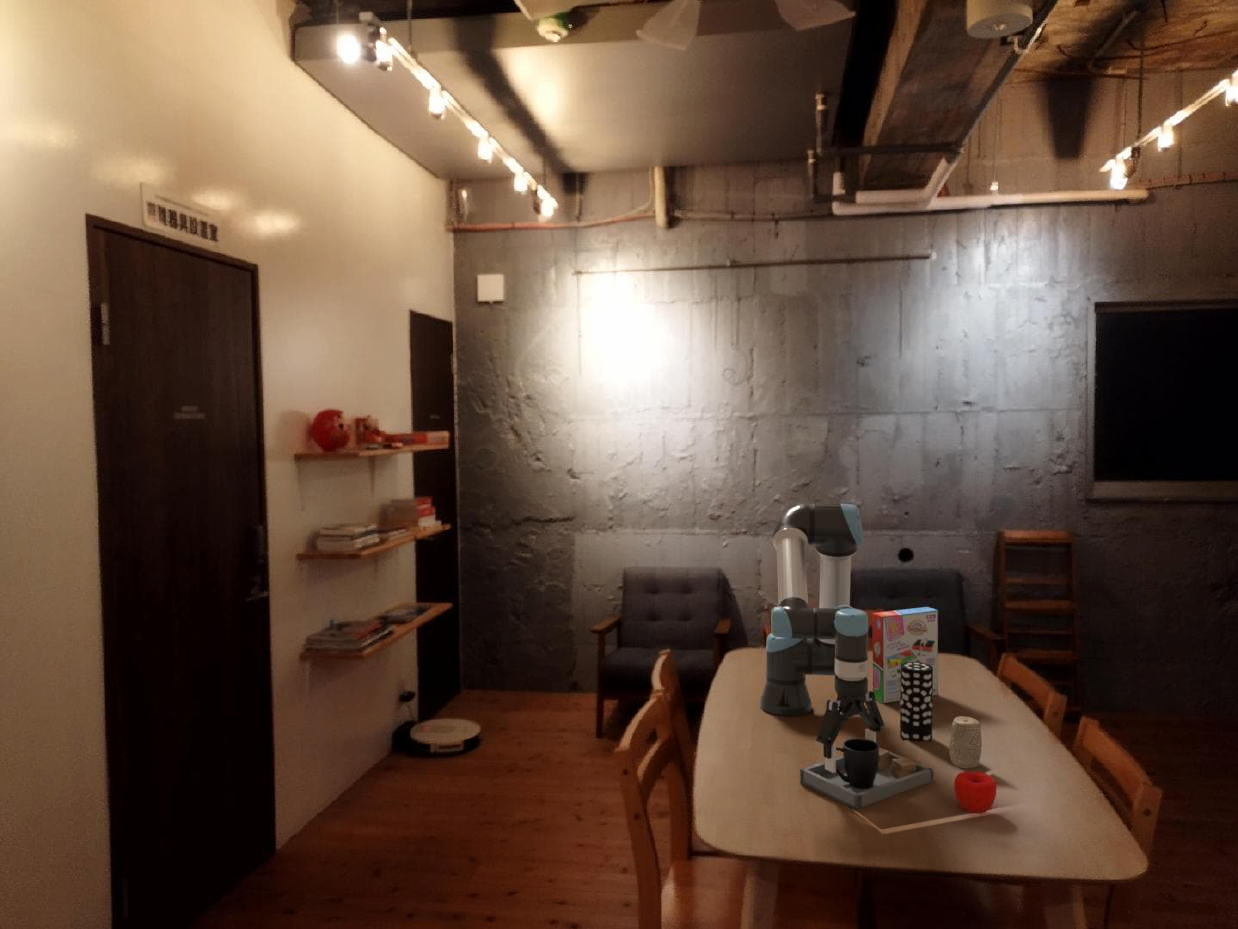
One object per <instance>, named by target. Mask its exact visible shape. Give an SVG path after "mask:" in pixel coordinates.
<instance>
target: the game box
mask: <svg viewBox="0 0 1238 929" xmlns="http://www.w3.org/2000/svg"><path fill="white" fill-rule="evenodd" d="M938 638H939V610H938V609H936V608H932V607H929V606H923V607H915V608H906V609H896V610H888V611H878V612H873V613H872V692H874V693H875V701H876V702H879V703H881V704H888V703H894V702H900V665H901V664H902V663H905V662H921V663H926V664H929V665H931V666H932V667H933V697H934V696H939V674H938V673H939V660H938V659H939V658H938V656H939V654H938V653H939V648H938V647H939V645H938V644H939V643H938V642H939V641H938V640H939V639H938Z"/></svg>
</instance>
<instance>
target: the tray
mask: <svg viewBox="0 0 1238 929" xmlns="http://www.w3.org/2000/svg"><path fill="white" fill-rule="evenodd" d="M898 758H904V756H903V755H902V756H901V755H900V754H897V753H894V752H891V751H889V767H887V768H885V769H884V770H882V771H879V770H877V773H876V777H875V780H874V783H873V786H872V787H871V788H868V789H859V788H855V787H853V786H851V785H850V784H849V783H847V782H844V781H843V780H842V779H841V778H840V776H839V775H838V773H837V772H835V773H832V772H830V771H828V770H826V769H825V760H824V761H821V762H818V763H815V764H812V765H808V766H805V767H803V768H799V770H800V772H799V773H800V775H799V778H800V779H799V782H800V784H801V785H803V786H805V787H807V788H809V789H811V790H813V791H815V792H817V793H819V794H821V795H823V796H825V797H827V798H829V799H830V800H833V801H835V802H837V803H839V804H841V805H843V806H845V807H847V808H849V809H851V810H853V811H855V812H857V813H859V812H860V811H859V810H858V809H861V808H864V807H867V806H869V805H872V804H874V803H877V802H879V801H882V800H886V799H888V798H891V797H893V796H897V795H899V794H901V793H904V792H906V791H910V790H912V789H915V788H917V787H920V786H923V785H925V784H928V783H932V782H934V769H933V768H931V767H928V766H926V765H923V764H921V763H918V762H916V761H913V760H912V761H913V762H914V763H916V773H913V774H911V775H908V776H905V777H902V778H899V779H896V778H895V777H893V776H892V759H898ZM836 767H837V769H838V770H839V771H840V772H841V773H842V774H843V775H845V776H847V774H846V770H845V766H844V760H843V755H840V756H838V757H837V756H836Z"/></svg>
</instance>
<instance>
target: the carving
mask: <svg viewBox="0 0 1238 929" xmlns="http://www.w3.org/2000/svg"><path fill="white" fill-rule="evenodd" d="M982 746H983V738H982V726H981V723H980V721H978V720H977V719H975V718H973V717H969V716H963V715H962V716H956V717H954V719H953V721H952V724H951V730H950V740H949V757H950V762H951V763H952V764H953V765H954V766H956V767H958V768H962V769H975V768H977V767H979V763H980V759H981V757H982V756H981V755H982V751H983V750H982Z"/></svg>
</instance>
